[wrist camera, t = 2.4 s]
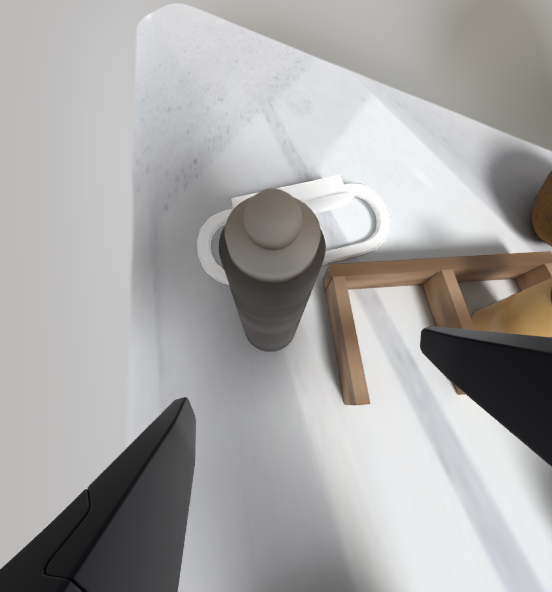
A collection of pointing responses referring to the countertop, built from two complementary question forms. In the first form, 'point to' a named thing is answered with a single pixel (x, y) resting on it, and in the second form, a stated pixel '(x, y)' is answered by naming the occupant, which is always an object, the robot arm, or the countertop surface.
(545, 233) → the potato
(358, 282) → the slot rack
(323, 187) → the rolling pin
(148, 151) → the countertop surface
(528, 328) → the amber jar
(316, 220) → the pepper mill
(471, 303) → the countertop surface
